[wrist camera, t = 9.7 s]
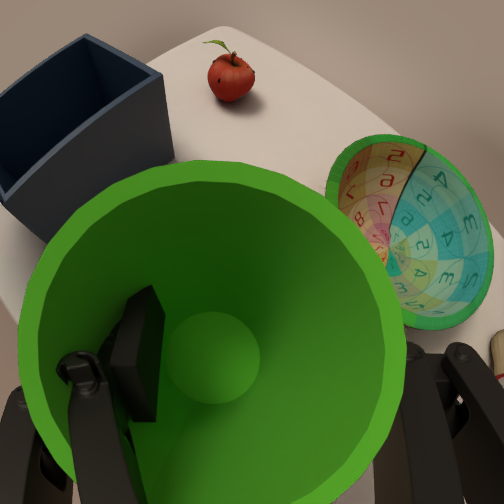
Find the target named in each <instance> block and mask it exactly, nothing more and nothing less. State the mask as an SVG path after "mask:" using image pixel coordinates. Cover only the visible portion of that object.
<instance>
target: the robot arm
mask: <svg viewBox="0 0 504 504" xmlns="http://www.w3.org/2000/svg"><path fill="white" fill-rule="evenodd" d="M165 316H166V314H165V312H164V310H163V308H162V306H161V303H160V301H159V299H158V297H157V295H156V293H155V290H154V288H153V286H152V285H149V286H147V287H145V288H143V289H141V290H140V291H138V292H137V293H135V294H134V295H132V296H131V297H129V298H128V299H127V303H126V306H125V309H124V313H123V316H122V319H121V320H120V321H119V322H118V323H117V324H116V325H115V326H114V328H113V329H112V330H111V332H110V333H109V336H107V338H106V339H105V340H104V342H103V344H102V345H101V346H100V349H99V351H98V353H97V355H95V354H94V353H92V352H90V351H86V350H80V351H74V352H71V353H68V354H67V355H66V356H64V357H63V358H61V360H60V361H59V362H58V364H57V367H56V372H57V374H58V376H59V377H60V378H61V380H62V381H63V382H64V383H65V384H66V385H67V386H68V380H70V381H71V382H72V383H73V385H72V389H71V390H72V391H71V395H70V400H69V404H68V409H67V411H68V423H69V433H70V441H71V449H72V457H73V463H74V470H75V476H76V481H77V486H78V492H79V496H80V501H81V504H148V502H147V498H146V494H145V490H144V486H143V482H142V478H141V474H140V470H139V465H138V461H137V456H136V451H135V447H134V443H133V439H132V435H131V430H130V428H129V426H128V421H129V413H130V415H131V418H132V420H133V422H156V418H157V402H158V388H159V375H160V364H161V353H162V343H163V333H164V324H165ZM406 345H407V353H406V366H405V378H404V387H403V394H402V397H401V401H400V404H399V407H398V410H397V412H396V415H395V418H394V421H393V424H392V426H391V429H390V432H389V434H388V437H387V439H386V440H385V442H384V443H383V445H382V447H381V448H380V450H379V451H378V453H377V454H376V456H375V457H374V459H373V470H374V492H375V504H465V503H464V498H465V501H466V503H467V504H504V388H503V386H502V385H501V384H500V382H499V381H498V379H497V378H496V377H495V375H494V374H493V373H492V371H491V370H490V369H489V367H488V366H487V365H486V363H485V362H484V361H483V360H482V358H481V357H480V356H479V354H478V353H477V352H476V351H475V350H474V349H473V348H472V347H471V346H469V345H467V344H465V343H461V342H454V343H451V344H449V345H448V347H447V348H446V351H445V353H444V354H428V353H425V352H424V350H423V349H422V348H421V347H420V346H418V345H417V344H414V343H412V342H408V341H406ZM459 395H460V396H461V397H462V399H463V402H462V404H461V403H459V401H458V400H457V398H458V396H459ZM124 436H126V438H127V440H128V442H129V444H130V446H131V448H132V449H131V448H130V446H129V444H128V443H127V441H126V439H125V437H124ZM132 450H133V451H132ZM72 495H73V480H72V479H71V478H70V477H69V476H68V474H67V473H66V472H65V471H64V470H63V469H62V468H61V467H60V466H59V465H58V464H57V463H56V461H55V459H54V458H53V456H52V455H51V453H50V451H49V450H48V448H47V446H46V445H45V443H44V441H43V440H42V438H41V436H40V434H39V432H38V431H37V429H36V427H35V425H34V423H33V421H32V419H31V416H30V413H29V409H28V406H27V403H26V399H25V396H24V392H23V388H22V385H21V386H19V387H17V388H16V389H15V390H13V391H12V392H11V394H10V396H9V398H8V400H7V403H6V406H5V409H4V412H3V415H2V418H1V422H0V504H72ZM463 496H464V497H463Z"/></svg>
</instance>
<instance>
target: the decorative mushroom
mask: <svg viewBox="0 0 504 504" xmlns="http://www.w3.org/2000/svg"><path fill="white" fill-rule="evenodd" d="M491 352H492V356H493V360H494V375H495V377H496V378H497V379H498V381H499V382H500V384H501V385H502V386H503V388H504V329H503V330H500V331H498V332H497V333H496V334H495V335H494V337H493V339H492V342H491Z"/></svg>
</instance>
